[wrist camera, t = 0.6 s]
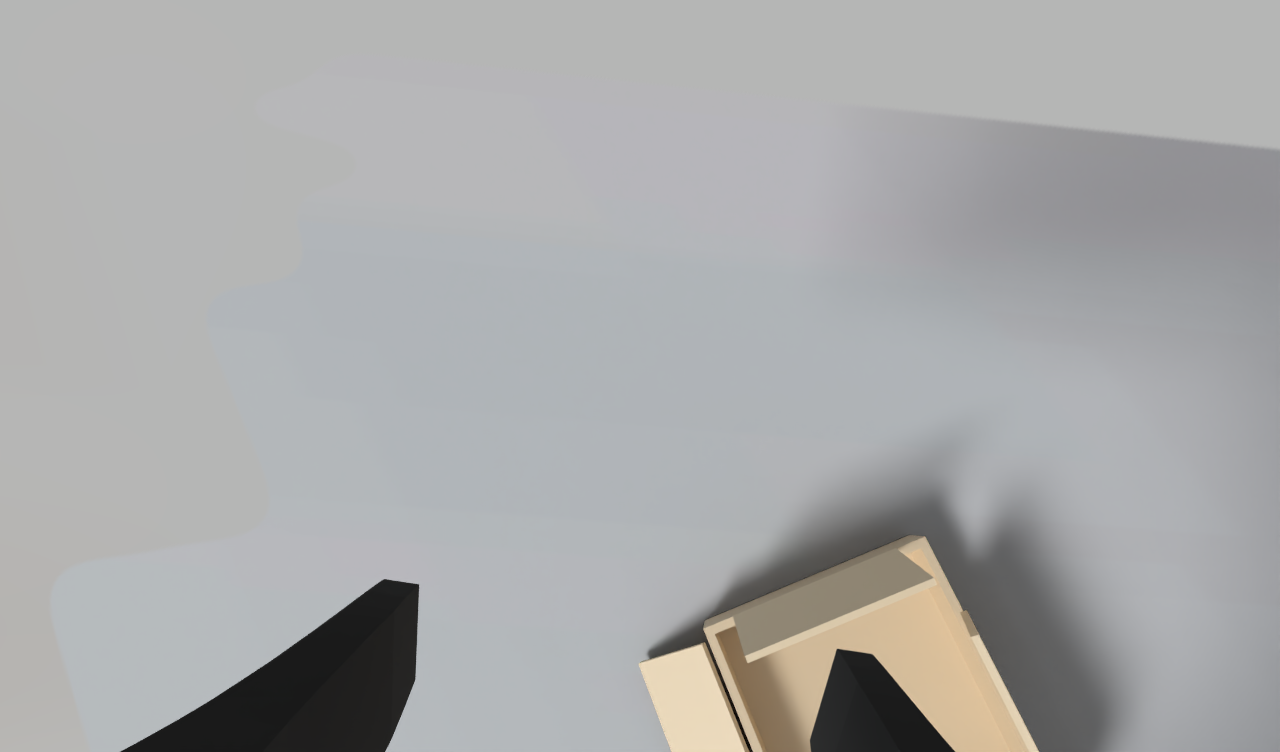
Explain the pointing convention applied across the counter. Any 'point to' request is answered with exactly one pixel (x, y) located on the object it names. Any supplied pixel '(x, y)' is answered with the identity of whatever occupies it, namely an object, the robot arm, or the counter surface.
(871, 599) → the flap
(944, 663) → the carton
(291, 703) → the robot arm
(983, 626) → the counter surface
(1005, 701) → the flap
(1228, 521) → the counter surface
